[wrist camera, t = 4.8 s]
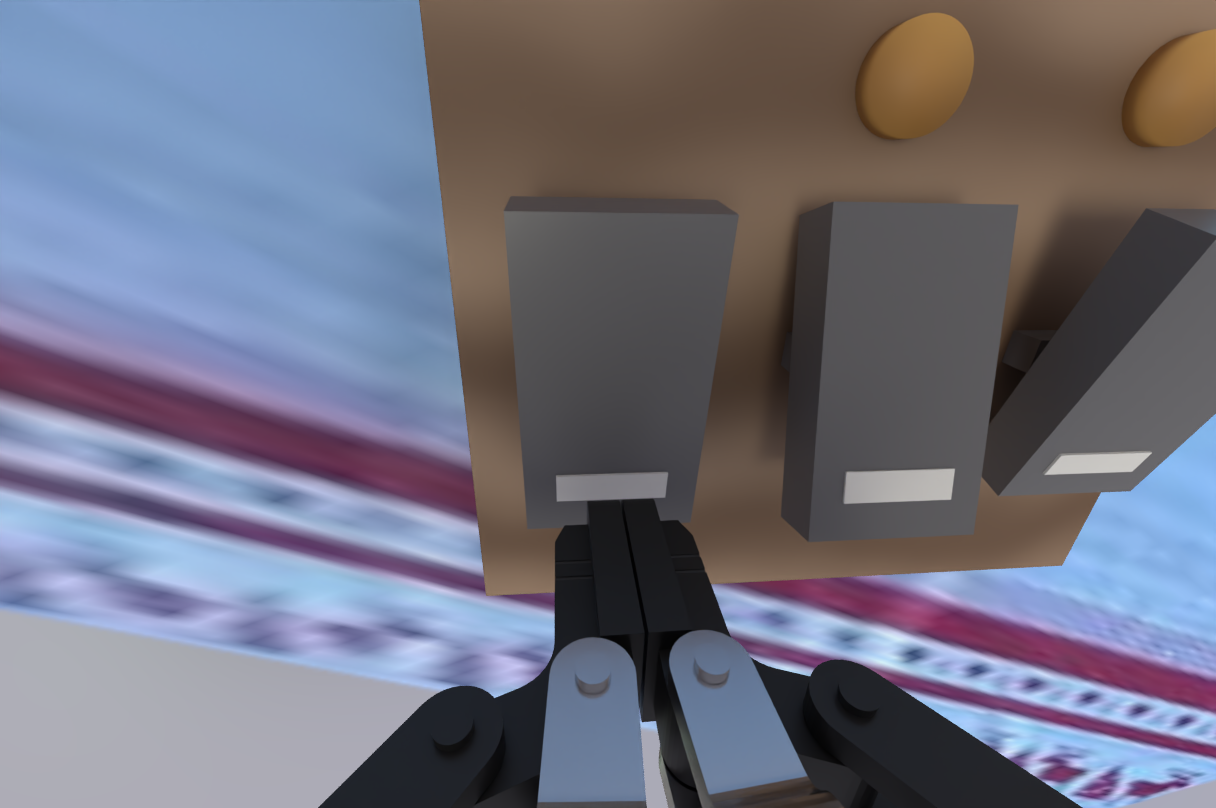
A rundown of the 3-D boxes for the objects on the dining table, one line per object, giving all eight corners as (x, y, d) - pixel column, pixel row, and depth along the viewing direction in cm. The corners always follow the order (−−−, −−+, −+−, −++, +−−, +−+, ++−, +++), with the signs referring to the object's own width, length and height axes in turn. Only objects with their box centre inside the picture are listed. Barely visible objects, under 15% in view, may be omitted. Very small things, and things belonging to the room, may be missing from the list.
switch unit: (449, -17, 13) (395, -107, 9) (1183, 22, 15) (1437, -36, 11) (498, 522, 21) (482, 618, 17) (983, 503, 23) (1085, 583, 19)
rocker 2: (799, 215, 13) (835, 200, 11) (963, 217, 13) (1021, 203, 11) (780, 516, 14) (809, 543, 12) (928, 510, 14) (975, 535, 13)
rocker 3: (1146, 208, 11) (1221, 238, 10) (1319, 210, 12) (1411, 239, 10) (965, 457, 16) (999, 497, 15) (1088, 453, 17) (1132, 492, 15)
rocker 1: (510, 196, 10) (503, 211, 9) (716, 199, 11) (740, 215, 9) (530, 488, 15) (527, 530, 13) (678, 484, 15) (690, 524, 14)
